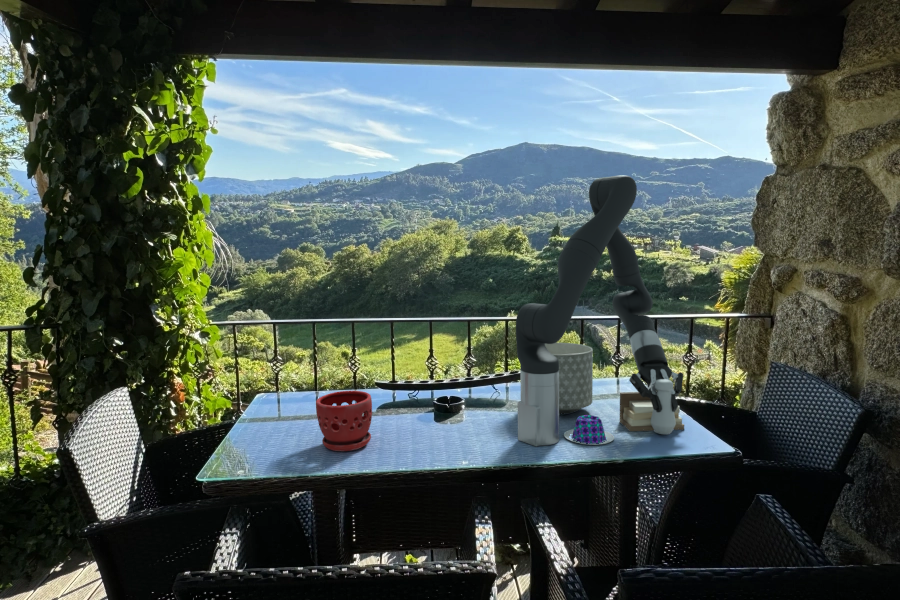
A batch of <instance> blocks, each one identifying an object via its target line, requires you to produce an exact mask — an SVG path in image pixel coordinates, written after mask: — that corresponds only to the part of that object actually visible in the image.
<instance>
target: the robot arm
mask: <svg viewBox="0 0 900 600" xmlns="http://www.w3.org/2000/svg"><path fill="white" fill-rule="evenodd" d="M637 192H638V187H637V183H636V181H635V179H634V178H633V177H632V176H630V175H623V174H621V175H620V174H619V175H612V176H605V177H598V178H596V179H594V180H593V181H592V182H591V184H590V187H589V189H588V199H589V202H590V203H589V205H590V206H591V209H592V213H593V215H594V216H593V217H591V219H589V220H587V222H585V223H584V224H583V225H582V226H580V227H579V228H578V229H577V230H575V232H573V233H572V234H571V236H570V237H569V238H568V240H567V241H566V244H565V245H564V247H563V249H562V251H561V252H560V254H559V256H558V260H557V274H558V286H557V288H556V290H555V293H554V294H553V296H552V298H551V300H550V301H549V302H548V303H547V304H543V303H534V302H531V303H525V304H523V305H522V306H521V307H520V309H519V310H518V312H517V315H516V318H515V341H516V343H515V344H516V355H517V359H518V363H519V367H520V401H518V403H517V440H518V441H520V442H523V443H526V444H529V445H531V446H534V447H539V446H550V445H554V444H557V443H559V441H560V415H559V361H558V359H557V358H556V357H555V356H554V355H552V354H551V353H550V352H549V351H548V350H547V348H546V346H545V344H554V343H559V341H560V340H561V339H562V338H563V337H564V335H565V333H566V331H567V329H568V327H569V324H570V322H571V320H572V317H573V314H574V312H575V309H576V307H577V304H578V303H579V300H580V297H581V295H582V293H583V292H584V289H585V288H586V286H587V284H588V281H589V280H590V278H591V276H592V274H593V273H594V271H595V270H596V267H597V266H598V264H599V262H600V260H601V258H602V257H603V254H604V251H605V249H606V250H607V252H608V256H609V260H610V265H611V269H612V276H613V280H614V282H615V284H616V285H617V286H620V287H633V288H635V289H633V290H627V291H622V292H618V293H616V294H615V295H614V296H613V297H612V302H611V303H612V308H613V311H614V312H615V314H616V316H617V317H618V318H619V320H621V323H622V324H623V326H624V327H625V330H626V332H627V335H628V339H629V342H630V348H631V353H632V355H633V358H634V362H635V365H636V369H637V370H638V371H637V373H636V372H635V373H634V372H633V373H632V374H631V375H630V378H629V380H628V381H629V382H630V383H631V385H632V386H633V387H634V388H635V390H636V392H639V393H640V395H641V396H642V397H648V398H650V399H651V403H652V406H653V409H654V410H656V412H661V410H662V406H661V402H660V399H659V397H658V396H657V395H656V394H657V389H655V385H654V384H655V381H656V380H658V379H667V380H671V378H672V382H673V383H674V384H673V389H672V390H671V402H672V412H675V411H676V409H677V407H678V406H679V405H678V401H677V398H676V397H678V396H679V395H680V393H681V392H682V388H683V381H684V373H683V372H678V373H677V372H673V370H672V369H671V368H670V366H669V364H668V363H669V362H668V359H667V356H666V354H665V351H664V348H663V346H662V342H661V340H660V337H659V336H658V333H657V330H656V329H655V325H654V322H653V320H652V318H651V317H650V316H648V315H646V314H648V313H650V312H651V310H652V308H653V305H654V302H653V298H652V295H651V294H650V293H649V291H648V289H647V287H646V286H645V284H644V281H643V279H642V278H643V277H642V276H641V272H640V267H639V261H638V256H637V253H636V250H635V248H634V246H633V245H632V243H631V242H630V240H629V239H628V238H627V237H626V235H625V234H624V233H623V232H622V230H621V229H620V227H619V226H620V224H622V222H623V221H624V219H625V218H626V216H627V215H628V213H629V212H630V210H631V209H632V207H633V205H634V203H635V200H636V197H637Z"/></svg>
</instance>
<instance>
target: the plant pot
mask: <svg viewBox="0 0 900 600" xmlns="http://www.w3.org/2000/svg"><path fill="white" fill-rule="evenodd" d="M353 402H355V403H353ZM344 403H346V404H345V405H343V404H344ZM315 410H316V419H317V421H318V422H317V423H318V427H319V429H320V432H321V434H322V435H323V437H322V444H323V446H324V447H326V448H327V449H329V450H331V451H334V452H348V451H349V452H350V451H357V450H358V449H361V448H363V447H364V446H365V447H366V445H367V444H369V442H370V441H371V439H372V434H371V432H369V430H370V427H371V424H372V418H373V400H372V396H371V394H370V393H369V392H367V391H366V392H365V391H362V390H342V391H334V392H330V393H327V394H325V395H324V394H323V395H322V396H320V397H318V398H317V399H316V401H315Z"/></svg>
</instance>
